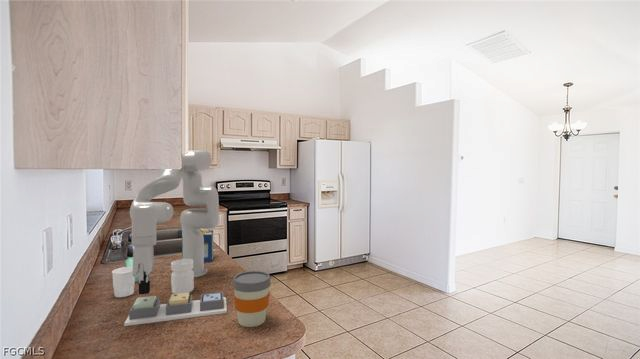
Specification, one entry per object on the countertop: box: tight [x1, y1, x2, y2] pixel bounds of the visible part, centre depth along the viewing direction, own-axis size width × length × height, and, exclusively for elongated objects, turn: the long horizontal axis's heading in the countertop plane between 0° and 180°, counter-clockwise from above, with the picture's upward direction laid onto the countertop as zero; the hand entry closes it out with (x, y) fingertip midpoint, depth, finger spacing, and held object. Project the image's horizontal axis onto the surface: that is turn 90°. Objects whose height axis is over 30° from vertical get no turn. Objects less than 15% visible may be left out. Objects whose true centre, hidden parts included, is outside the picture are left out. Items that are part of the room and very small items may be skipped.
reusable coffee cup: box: [232, 270, 271, 328], centre depth 108 cm, size 13×13×15 cm
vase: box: [170, 258, 195, 294], centre depth 133 cm, size 9×9×12 cm
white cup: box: [111, 266, 136, 298], centre depth 128 cm, size 8×8×10 cm
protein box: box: [181, 229, 214, 263], centre depth 175 cm, size 10×15×16 cm
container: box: [124, 256, 139, 283], centre depth 151 cm, size 6×6×25 cm
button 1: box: [132, 295, 157, 310], centre depth 110 cm, size 6×6×3 cm
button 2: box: [169, 292, 190, 306], centre depth 114 cm, size 6×6×3 cm
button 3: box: [203, 293, 221, 302], centre depth 117 cm, size 6×6×3 cm
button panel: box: [123, 291, 228, 327], centre depth 114 cm, size 12×32×4 cm, turn 108°
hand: (144, 293), depth 109 cm, fingers closed
